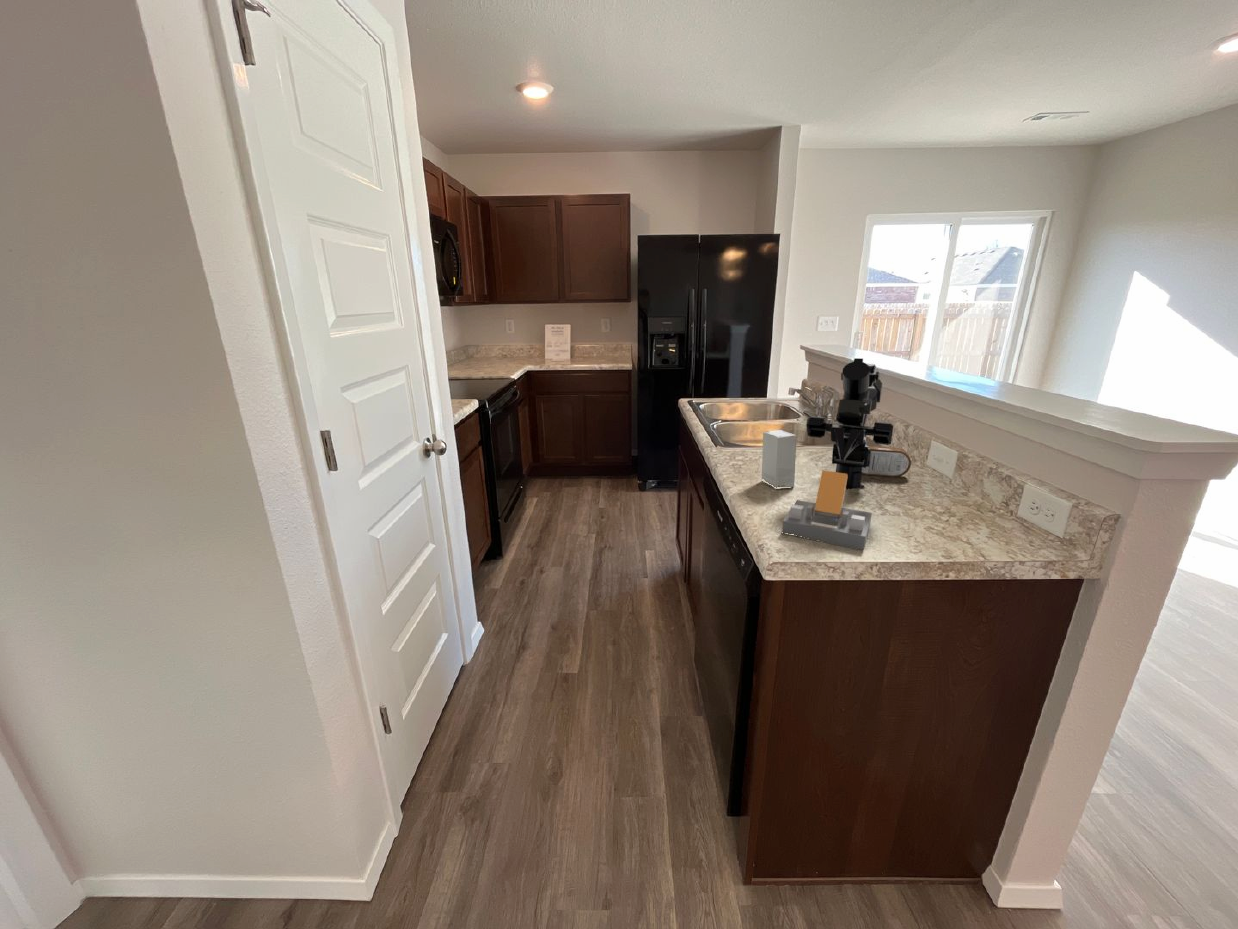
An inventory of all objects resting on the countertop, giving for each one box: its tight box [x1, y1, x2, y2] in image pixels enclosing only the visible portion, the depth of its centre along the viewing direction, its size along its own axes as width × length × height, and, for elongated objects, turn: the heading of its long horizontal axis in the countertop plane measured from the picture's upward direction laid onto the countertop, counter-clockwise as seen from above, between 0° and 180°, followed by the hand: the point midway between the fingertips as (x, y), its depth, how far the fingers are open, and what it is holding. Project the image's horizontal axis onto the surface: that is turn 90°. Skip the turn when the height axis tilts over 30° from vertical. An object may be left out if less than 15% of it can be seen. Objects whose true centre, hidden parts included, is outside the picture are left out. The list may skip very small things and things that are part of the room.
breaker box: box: [781, 499, 873, 551], centre depth 105 cm, size 14×16×5 cm
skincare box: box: [761, 429, 798, 488], centre depth 133 cm, size 8×6×15 cm
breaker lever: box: [815, 469, 848, 519], centre depth 104 cm, size 2×5×10 cm
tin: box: [862, 445, 912, 478], centre depth 140 cm, size 15×3×8 cm, turn 71°
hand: (842, 459), depth 114 cm, fingers closed
